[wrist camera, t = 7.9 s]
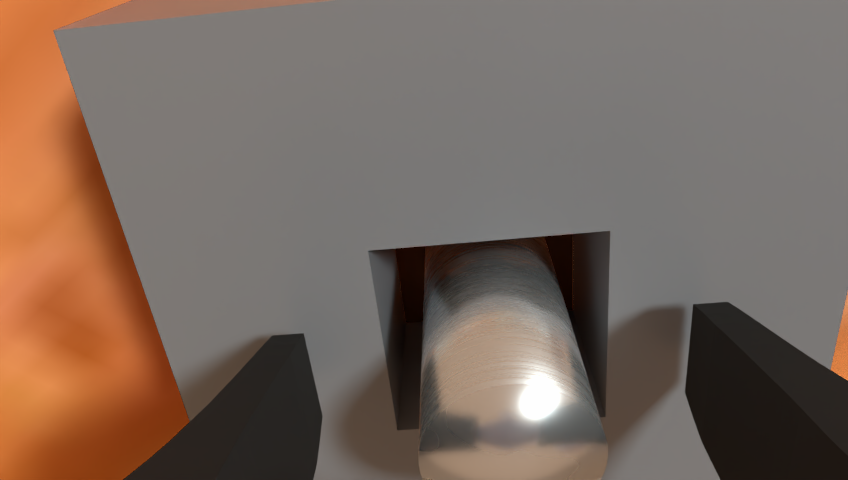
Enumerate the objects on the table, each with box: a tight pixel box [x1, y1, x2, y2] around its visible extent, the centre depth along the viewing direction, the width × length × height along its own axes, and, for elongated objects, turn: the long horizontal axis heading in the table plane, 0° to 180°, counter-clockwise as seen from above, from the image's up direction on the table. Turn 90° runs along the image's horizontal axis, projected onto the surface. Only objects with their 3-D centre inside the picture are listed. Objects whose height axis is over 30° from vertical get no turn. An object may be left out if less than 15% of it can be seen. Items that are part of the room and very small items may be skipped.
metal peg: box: [418, 236, 608, 480], centre depth 14 cm, size 3×3×7 cm
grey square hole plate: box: [54, 0, 848, 480], centre depth 15 cm, size 13×13×4 cm
